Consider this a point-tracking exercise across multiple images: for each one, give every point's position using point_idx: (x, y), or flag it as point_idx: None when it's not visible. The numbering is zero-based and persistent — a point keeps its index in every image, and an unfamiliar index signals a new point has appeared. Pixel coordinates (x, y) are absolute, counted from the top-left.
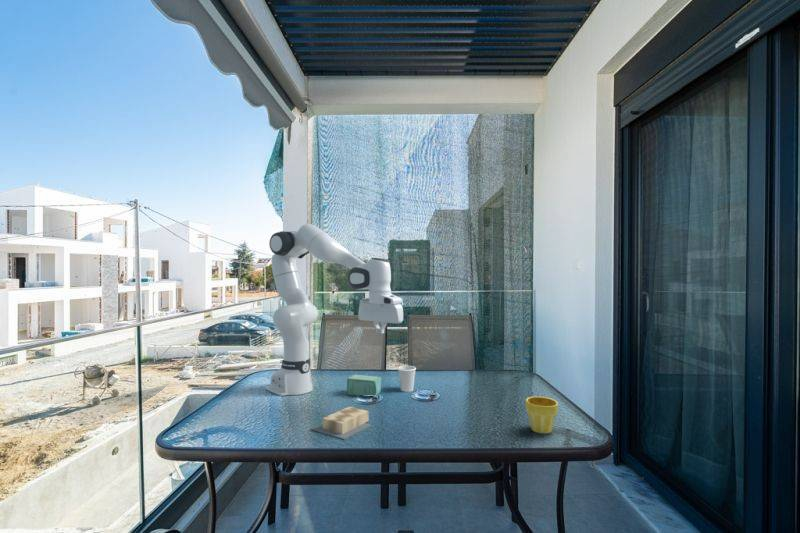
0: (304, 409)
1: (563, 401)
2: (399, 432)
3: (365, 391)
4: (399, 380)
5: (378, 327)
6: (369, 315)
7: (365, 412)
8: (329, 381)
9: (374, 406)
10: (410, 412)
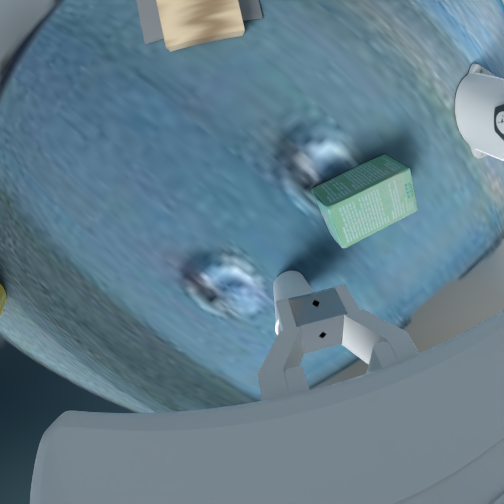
0: (377, 12)
1: (73, 381)
2: (72, 81)
3: (342, 180)
4: (309, 287)
5: (350, 339)
6: (498, 382)
7: (164, 35)
8: (464, 201)
9: (257, 137)
10: (149, 179)
